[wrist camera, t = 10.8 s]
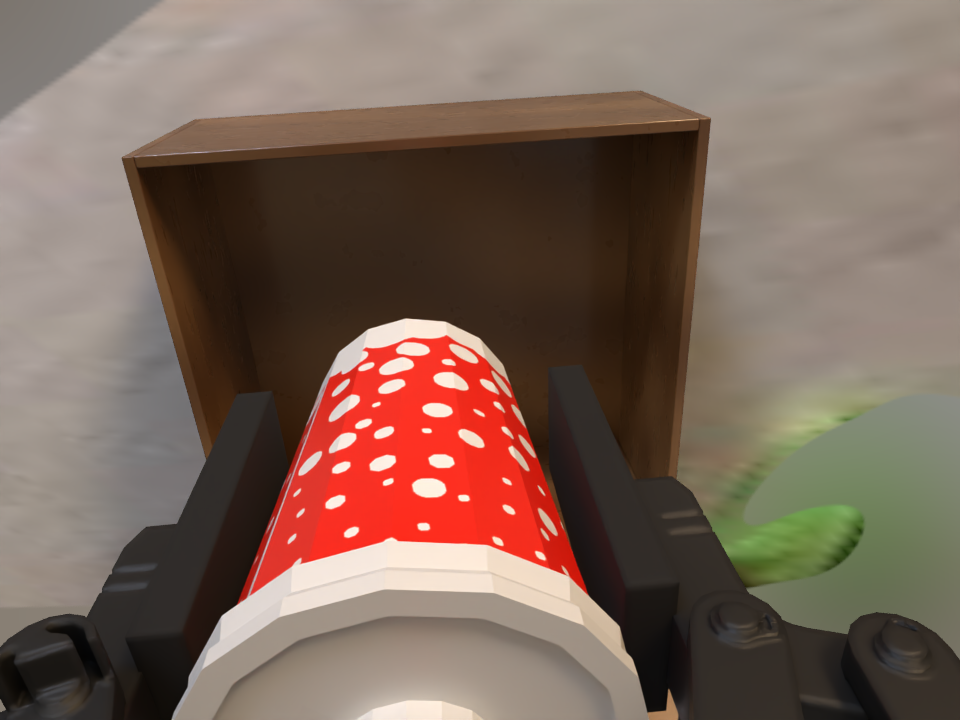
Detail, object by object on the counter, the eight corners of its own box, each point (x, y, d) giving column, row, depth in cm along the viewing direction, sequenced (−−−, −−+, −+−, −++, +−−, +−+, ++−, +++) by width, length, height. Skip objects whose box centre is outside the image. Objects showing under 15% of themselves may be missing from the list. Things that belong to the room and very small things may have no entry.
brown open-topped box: (623, 440, 40) (670, 540, 32) (274, 470, 39) (240, 581, 32) (641, 90, 31) (711, 117, 24) (193, 119, 30) (120, 157, 23)
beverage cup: (435, 542, 19) (469, 1588, 6) (236, 423, 17) (-292, 1653, 4) (594, 387, 17) (1074, 1430, 5) (394, 231, 15) (273, 1402, 2)
